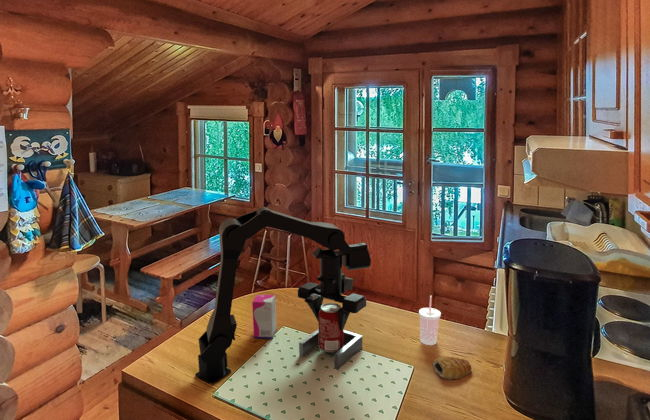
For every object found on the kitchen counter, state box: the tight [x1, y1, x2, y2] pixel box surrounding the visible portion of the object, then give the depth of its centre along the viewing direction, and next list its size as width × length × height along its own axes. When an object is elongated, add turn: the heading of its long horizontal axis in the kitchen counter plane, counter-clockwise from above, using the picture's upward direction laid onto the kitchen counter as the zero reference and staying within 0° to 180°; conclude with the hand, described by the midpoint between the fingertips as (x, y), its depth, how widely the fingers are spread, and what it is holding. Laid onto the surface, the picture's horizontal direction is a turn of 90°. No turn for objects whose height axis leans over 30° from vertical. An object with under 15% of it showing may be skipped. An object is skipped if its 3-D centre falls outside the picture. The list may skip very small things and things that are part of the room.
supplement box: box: [252, 294, 278, 340], centre depth 130 cm, size 6×6×12 cm
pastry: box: [432, 355, 472, 380], centre depth 112 cm, size 9×7×4 cm
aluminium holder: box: [298, 328, 363, 371], centre depth 121 cm, size 13×12×4 cm
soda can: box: [318, 302, 344, 353], centre depth 119 cm, size 7×7×12 cm
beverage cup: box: [418, 295, 442, 346], centre depth 125 cm, size 6×6×14 cm
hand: (331, 326), depth 119 cm, fingers closed on soda can, 7 cm apart
